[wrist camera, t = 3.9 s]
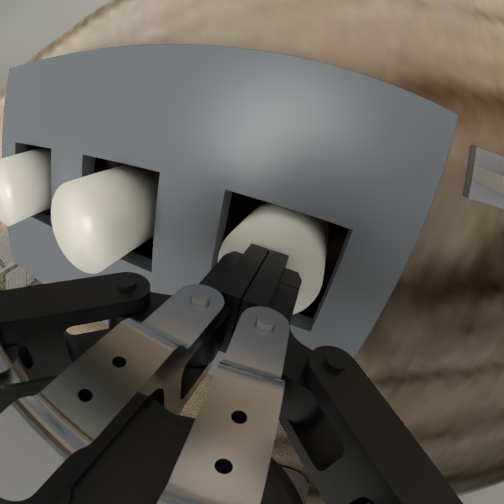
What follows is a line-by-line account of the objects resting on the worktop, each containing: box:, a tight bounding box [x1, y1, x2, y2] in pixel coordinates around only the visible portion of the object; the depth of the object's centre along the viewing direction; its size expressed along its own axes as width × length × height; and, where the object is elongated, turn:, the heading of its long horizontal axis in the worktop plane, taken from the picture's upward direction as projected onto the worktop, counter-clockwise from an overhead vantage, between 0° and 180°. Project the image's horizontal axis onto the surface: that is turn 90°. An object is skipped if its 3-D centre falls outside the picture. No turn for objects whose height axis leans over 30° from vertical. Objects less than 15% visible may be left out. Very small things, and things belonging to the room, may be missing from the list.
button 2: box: [51, 164, 160, 274], centre depth 13 cm, size 4×4×5 cm
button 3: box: [0, 147, 51, 226], centre depth 14 cm, size 4×4×5 cm
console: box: [2, 44, 458, 376], centre depth 16 cm, size 26×16×6 cm, turn 77°
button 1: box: [218, 201, 329, 315], centre depth 13 cm, size 4×4×5 cm
